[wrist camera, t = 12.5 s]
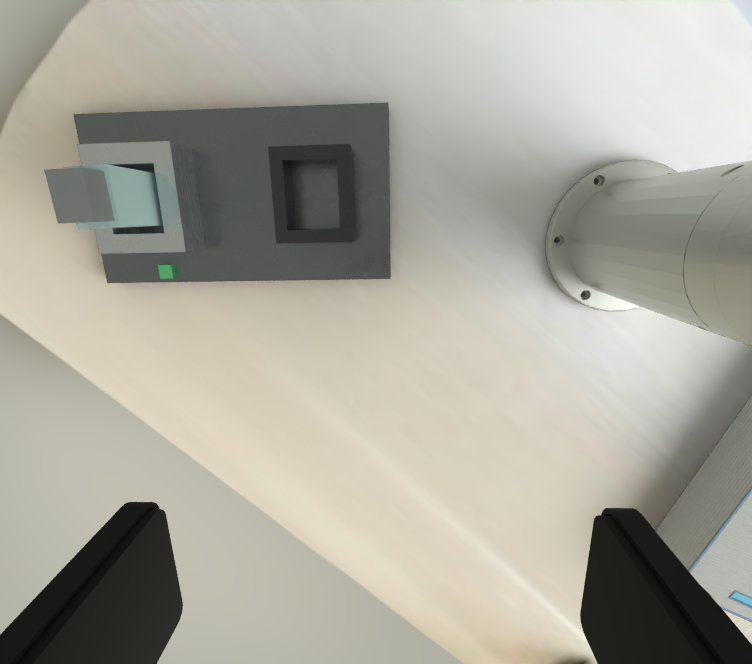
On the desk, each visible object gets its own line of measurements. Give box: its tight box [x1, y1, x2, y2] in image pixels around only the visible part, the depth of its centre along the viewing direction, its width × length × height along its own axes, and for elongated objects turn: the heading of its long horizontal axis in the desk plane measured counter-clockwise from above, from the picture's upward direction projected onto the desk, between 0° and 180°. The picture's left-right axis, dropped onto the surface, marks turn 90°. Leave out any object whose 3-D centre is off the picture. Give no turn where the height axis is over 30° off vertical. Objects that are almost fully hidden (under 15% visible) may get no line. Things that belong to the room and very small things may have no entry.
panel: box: [74, 103, 391, 283], centre depth 34 cm, size 26×14×5 cm, turn 91°
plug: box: [45, 164, 163, 229], centre depth 30 cm, size 3×4×10 cm
